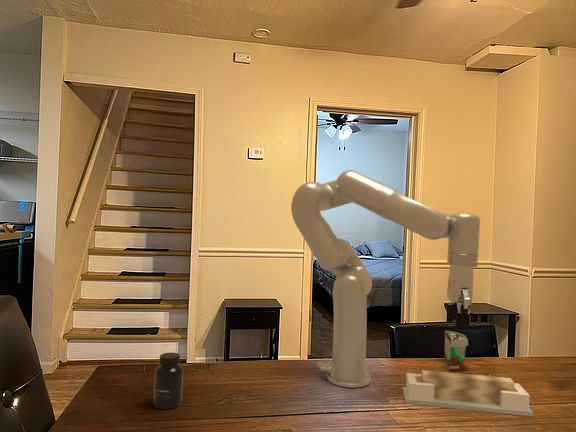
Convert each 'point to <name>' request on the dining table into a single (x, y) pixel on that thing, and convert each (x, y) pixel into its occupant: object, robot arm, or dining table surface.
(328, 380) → the robot arm
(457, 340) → the food container
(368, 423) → the dining table surface
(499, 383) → the slat
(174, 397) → the supplement bottle
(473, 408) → the frame
